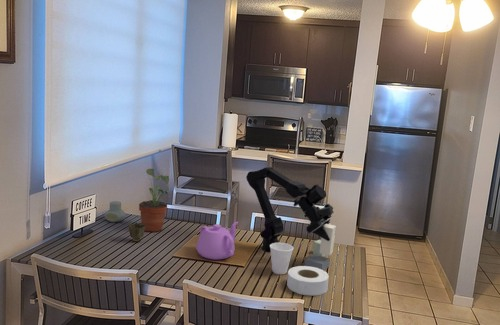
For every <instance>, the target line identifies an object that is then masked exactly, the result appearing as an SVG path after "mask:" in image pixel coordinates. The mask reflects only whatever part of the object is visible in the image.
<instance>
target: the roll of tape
mask: <svg viewBox="0 0 500 325" xmlns="http://www.w3.org/2000/svg"><path fill="white" fill-rule="evenodd" d="M329 279H330V277H329V274H328V273H327V271H325V270H324V271H323V270H321V269H319V268H315V267H310V266H305V265H297V266H294V267H290V268H288V270H287V279H286V280H287V281H286V286H287V288H288V289H289V290H290V291H291V292H294V293H297V294H298V295H304V296H311V297H312V296H320V295H324V294H326V292H328V288H329Z"/></svg>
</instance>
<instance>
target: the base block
mask: <svg viewBox="0 0 500 325" xmlns="http://www.w3.org/2000/svg"><path fill="white" fill-rule="evenodd" d="M304 266H310V267H315V268H319V269H321V270H323V271H325V270H327V269H328V268H329V267H330V258H329V257H325V256H323V257H322V256H318V255H315V254H313V253H312V254H310V255H309V256H308V257H306V258H305V259H304Z"/></svg>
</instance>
